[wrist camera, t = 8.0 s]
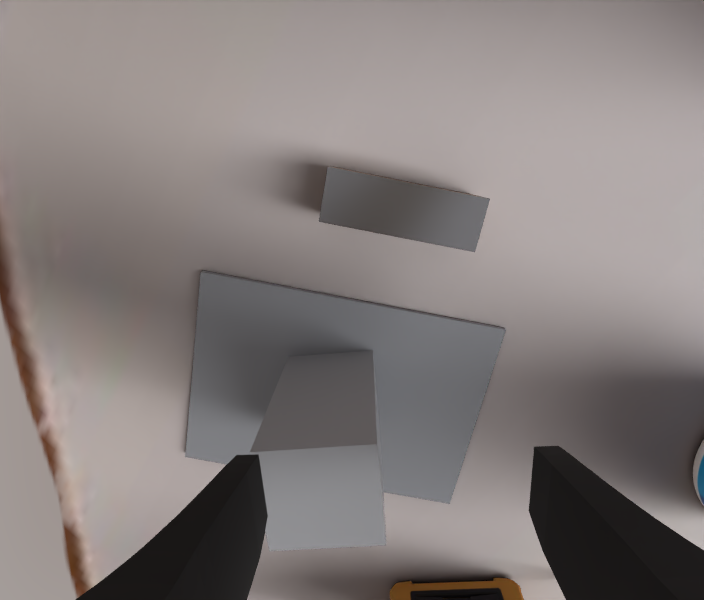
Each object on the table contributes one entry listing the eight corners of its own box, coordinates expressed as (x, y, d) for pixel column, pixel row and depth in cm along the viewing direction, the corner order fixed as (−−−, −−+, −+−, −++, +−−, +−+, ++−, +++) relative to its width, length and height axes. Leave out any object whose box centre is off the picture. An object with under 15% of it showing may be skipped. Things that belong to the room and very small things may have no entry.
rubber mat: (503, 327, 19) (505, 330, 19) (448, 499, 22) (449, 503, 22) (203, 270, 19) (200, 271, 19) (187, 453, 22) (185, 456, 22)
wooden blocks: (560, -130, 14) (599, -189, 12) (460, 241, 18) (474, 252, 16) (389, -169, 14) (394, -236, 12) (324, 214, 18) (318, 221, 16)
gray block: (372, 350, 20) (377, 444, 13) (379, 424, 21) (386, 545, 14) (288, 356, 20) (249, 452, 13) (299, 429, 21) (269, 551, 14)
